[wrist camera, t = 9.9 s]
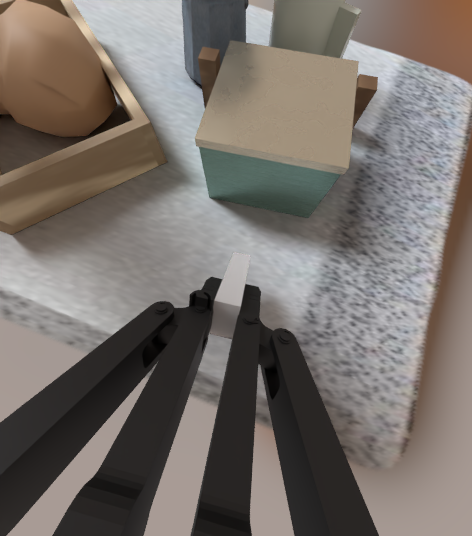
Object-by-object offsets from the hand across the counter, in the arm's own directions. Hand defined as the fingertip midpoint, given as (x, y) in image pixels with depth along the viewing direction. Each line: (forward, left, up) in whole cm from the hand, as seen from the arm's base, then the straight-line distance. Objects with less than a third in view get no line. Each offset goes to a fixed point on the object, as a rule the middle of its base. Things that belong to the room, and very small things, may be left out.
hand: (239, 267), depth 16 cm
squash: (-32, -9, -4) cm, 33 cm away
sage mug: (-22, +24, -4) cm, 32 cm away
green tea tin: (-10, +11, -4) cm, 15 cm away
